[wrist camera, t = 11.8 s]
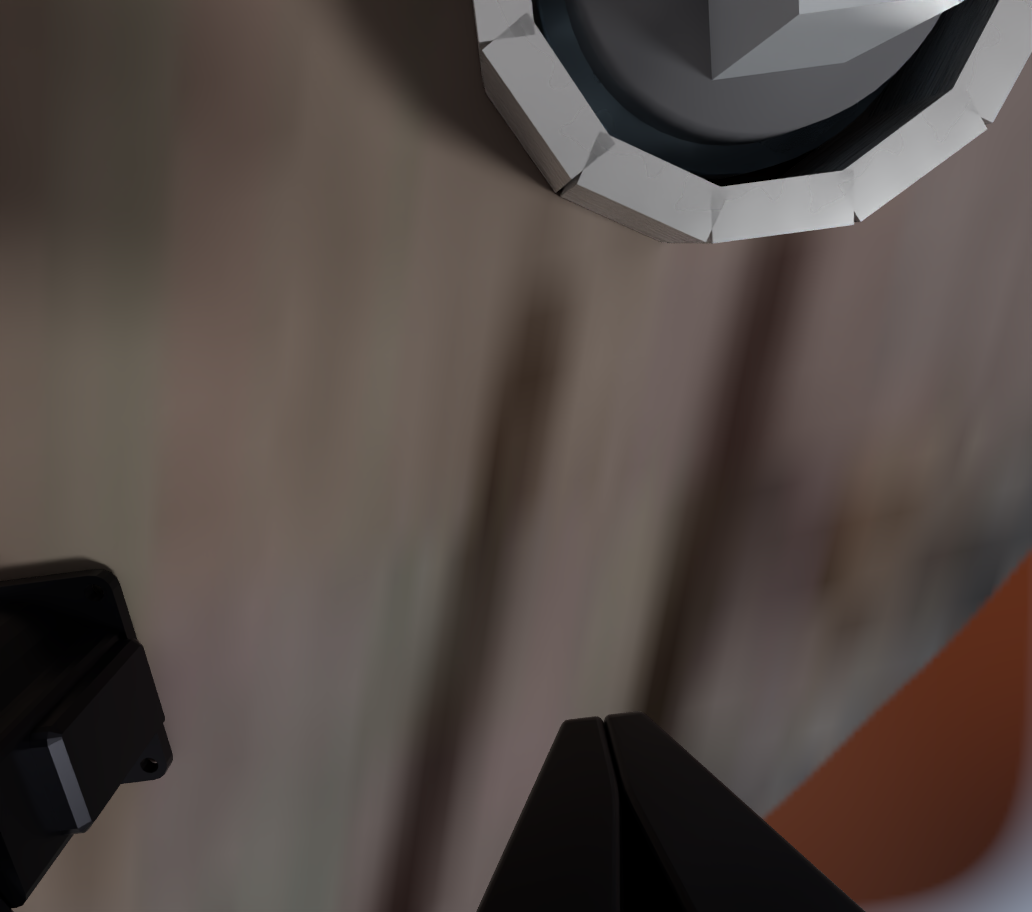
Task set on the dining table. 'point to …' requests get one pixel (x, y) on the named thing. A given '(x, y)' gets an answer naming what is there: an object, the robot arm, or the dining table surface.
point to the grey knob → (746, 59)
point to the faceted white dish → (752, 206)
